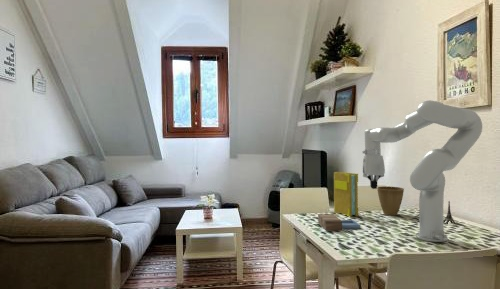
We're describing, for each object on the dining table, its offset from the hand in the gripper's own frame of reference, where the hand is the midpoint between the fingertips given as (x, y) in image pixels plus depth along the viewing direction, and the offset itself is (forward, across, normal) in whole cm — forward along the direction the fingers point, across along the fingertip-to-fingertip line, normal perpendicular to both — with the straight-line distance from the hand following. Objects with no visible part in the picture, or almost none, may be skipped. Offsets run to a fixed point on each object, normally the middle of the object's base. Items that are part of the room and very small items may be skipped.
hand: (373, 188), depth 172 cm
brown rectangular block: (+19, -23, +2) cm, 30 cm away
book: (+19, -5, +32) cm, 38 cm away
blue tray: (+19, -17, +2) cm, 26 cm away
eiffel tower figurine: (+21, +42, +5) cm, 47 cm away
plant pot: (+20, +22, +29) cm, 41 cm away
